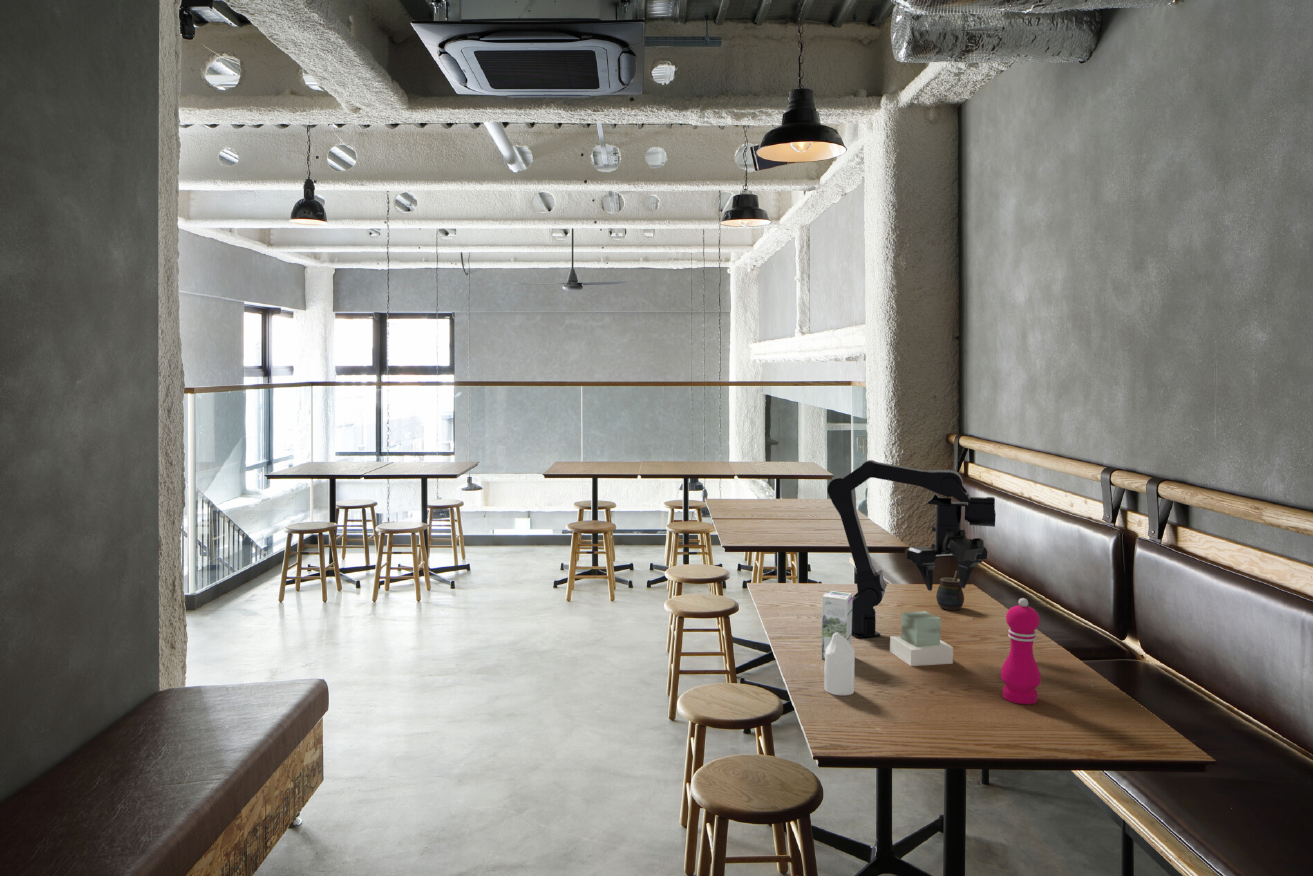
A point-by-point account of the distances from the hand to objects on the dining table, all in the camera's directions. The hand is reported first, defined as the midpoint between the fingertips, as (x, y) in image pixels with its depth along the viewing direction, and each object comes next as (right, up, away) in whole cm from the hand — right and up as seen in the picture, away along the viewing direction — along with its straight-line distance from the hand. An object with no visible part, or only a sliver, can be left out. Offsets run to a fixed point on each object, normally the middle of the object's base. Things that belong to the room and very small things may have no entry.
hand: (946, 589), depth 198 cm
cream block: (-9, -14, -9) cm, 19 cm away
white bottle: (-32, -15, -30) cm, 47 cm away
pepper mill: (+3, -16, -34) cm, 37 cm away
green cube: (-9, -10, -10) cm, 17 cm away
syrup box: (-28, -14, -10) cm, 33 cm away
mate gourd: (+12, -11, +32) cm, 36 cm away
